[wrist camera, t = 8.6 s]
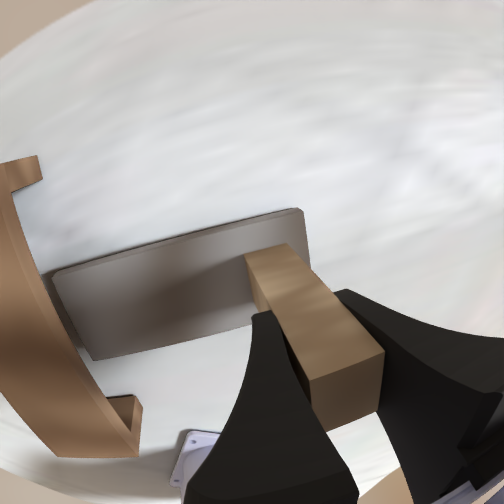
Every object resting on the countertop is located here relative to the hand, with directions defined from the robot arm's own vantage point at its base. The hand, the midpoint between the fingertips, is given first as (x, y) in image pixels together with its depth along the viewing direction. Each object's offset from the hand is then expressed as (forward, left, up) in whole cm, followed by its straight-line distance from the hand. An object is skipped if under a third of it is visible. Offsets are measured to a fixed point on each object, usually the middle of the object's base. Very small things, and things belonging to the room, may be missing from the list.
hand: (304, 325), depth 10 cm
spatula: (-2, +4, -5) cm, 7 cm away
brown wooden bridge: (-6, +11, -5) cm, 14 cm away
